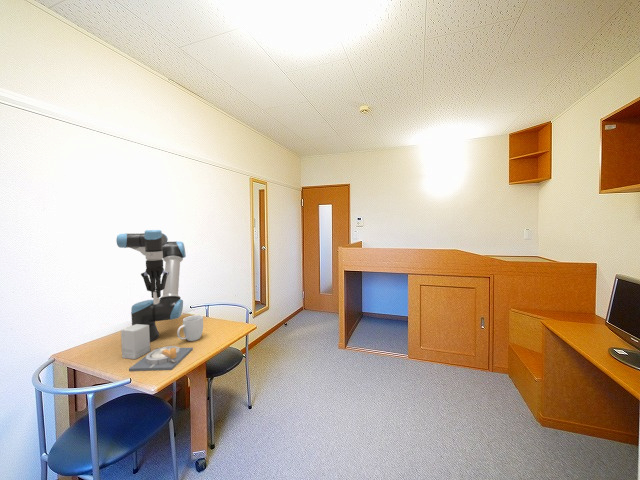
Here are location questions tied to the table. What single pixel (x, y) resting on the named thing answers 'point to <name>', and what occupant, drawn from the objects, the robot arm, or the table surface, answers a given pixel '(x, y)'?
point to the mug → (192, 327)
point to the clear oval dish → (165, 353)
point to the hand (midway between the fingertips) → (156, 303)
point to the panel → (161, 366)
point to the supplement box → (135, 341)
